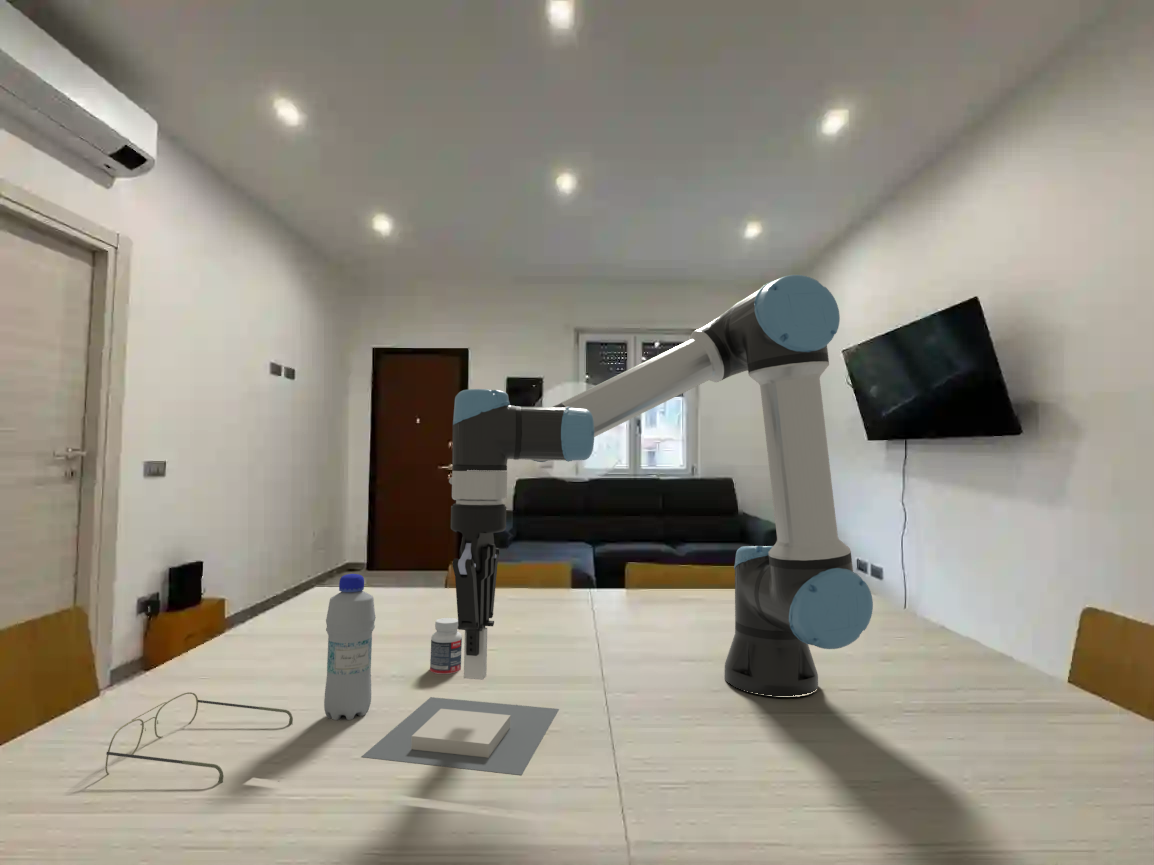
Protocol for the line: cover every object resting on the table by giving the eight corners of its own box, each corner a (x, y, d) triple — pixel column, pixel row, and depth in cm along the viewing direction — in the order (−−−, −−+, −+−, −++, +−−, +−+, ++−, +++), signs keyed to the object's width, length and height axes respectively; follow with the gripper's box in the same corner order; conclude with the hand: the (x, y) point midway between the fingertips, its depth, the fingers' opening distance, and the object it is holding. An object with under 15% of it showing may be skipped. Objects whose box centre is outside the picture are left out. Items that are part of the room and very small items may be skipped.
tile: (510, 715, 84) (488, 744, 75) (510, 727, 84) (488, 758, 75) (440, 708, 86) (411, 736, 77) (440, 720, 86) (411, 749, 77)
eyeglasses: (186, 723, 86) (188, 686, 86) (292, 727, 85) (294, 690, 86) (92, 782, 70) (95, 736, 70) (222, 786, 69) (224, 741, 70)
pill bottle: (453, 678, 105) (455, 625, 105) (424, 676, 106) (426, 623, 106) (465, 668, 110) (466, 617, 110) (437, 666, 111) (439, 615, 111)
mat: (559, 713, 91) (559, 708, 91) (521, 780, 71) (521, 774, 71) (430, 701, 94) (430, 697, 94) (360, 761, 75) (361, 756, 75)
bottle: (324, 729, 84) (330, 579, 85) (319, 711, 90) (325, 571, 91) (376, 720, 87) (381, 576, 88) (368, 704, 93) (372, 568, 94)
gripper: (469, 499, 93) (465, 660, 91) (434, 504, 80) (429, 692, 78) (518, 500, 91) (515, 664, 90) (490, 505, 78) (486, 696, 77)
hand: (475, 677), depth 84 cm, fingers closed
